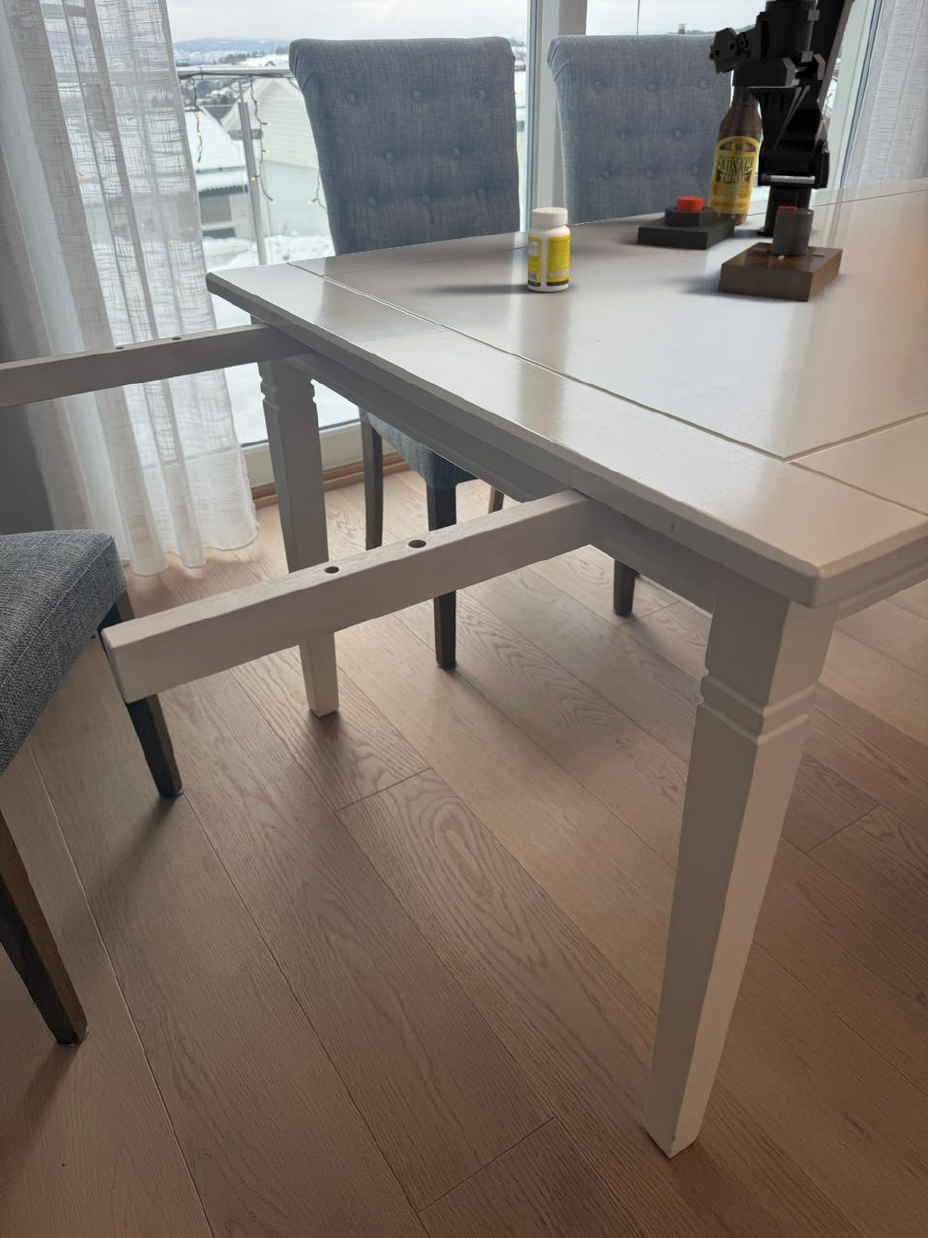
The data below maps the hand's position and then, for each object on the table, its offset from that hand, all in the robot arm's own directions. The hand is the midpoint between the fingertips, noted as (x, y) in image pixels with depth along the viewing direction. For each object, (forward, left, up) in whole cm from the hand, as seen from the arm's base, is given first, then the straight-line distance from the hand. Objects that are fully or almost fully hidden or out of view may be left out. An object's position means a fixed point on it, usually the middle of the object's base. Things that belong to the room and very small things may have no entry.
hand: (769, 149), depth 114 cm
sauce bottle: (-19, -10, -12) cm, 25 cm away
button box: (-4, -11, -12) cm, 17 cm away
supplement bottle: (+31, -15, -12) cm, 37 cm away
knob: (+15, +8, -9) cm, 19 cm away
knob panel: (+17, +8, -12) cm, 22 cm away
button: (-4, -11, -8) cm, 14 cm away
